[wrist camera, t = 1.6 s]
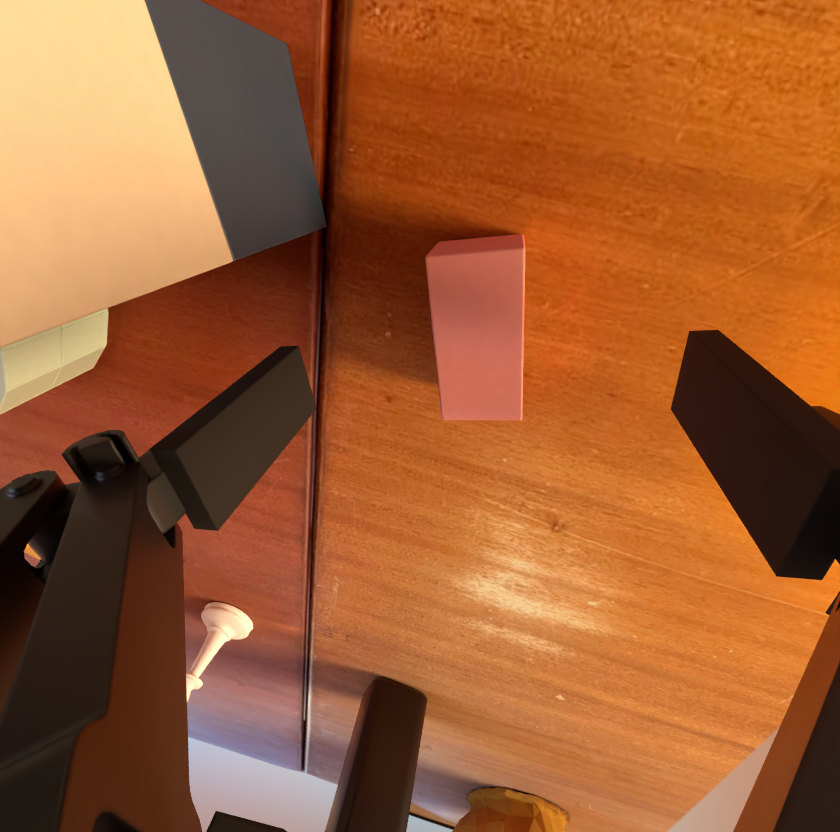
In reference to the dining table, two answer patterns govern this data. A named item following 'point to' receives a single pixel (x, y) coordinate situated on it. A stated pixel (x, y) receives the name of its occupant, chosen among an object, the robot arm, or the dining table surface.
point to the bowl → (50, 358)
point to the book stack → (139, 152)
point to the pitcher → (510, 813)
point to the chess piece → (217, 637)
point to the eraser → (478, 326)
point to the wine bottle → (380, 761)
